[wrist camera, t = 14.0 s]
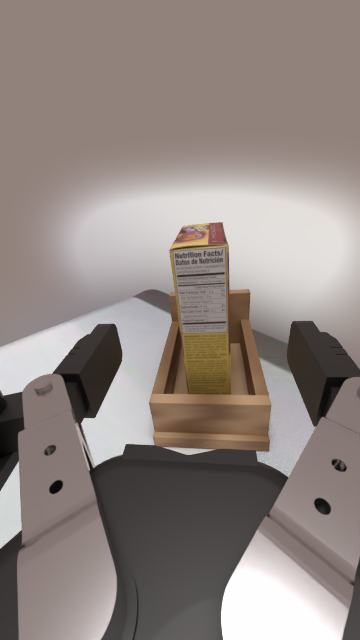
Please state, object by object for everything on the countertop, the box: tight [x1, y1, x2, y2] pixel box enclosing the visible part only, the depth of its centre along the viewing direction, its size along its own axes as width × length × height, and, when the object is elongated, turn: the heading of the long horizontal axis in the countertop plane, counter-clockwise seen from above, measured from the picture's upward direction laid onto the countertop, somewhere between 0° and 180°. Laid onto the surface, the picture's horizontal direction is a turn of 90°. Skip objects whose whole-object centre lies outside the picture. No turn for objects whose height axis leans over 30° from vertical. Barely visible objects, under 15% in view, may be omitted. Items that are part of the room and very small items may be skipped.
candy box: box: [170, 223, 231, 395], centre depth 24 cm, size 9×4×15 cm, turn 173°
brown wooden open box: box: [149, 289, 271, 451], centre depth 27 cm, size 10×16×8 cm, turn 174°
